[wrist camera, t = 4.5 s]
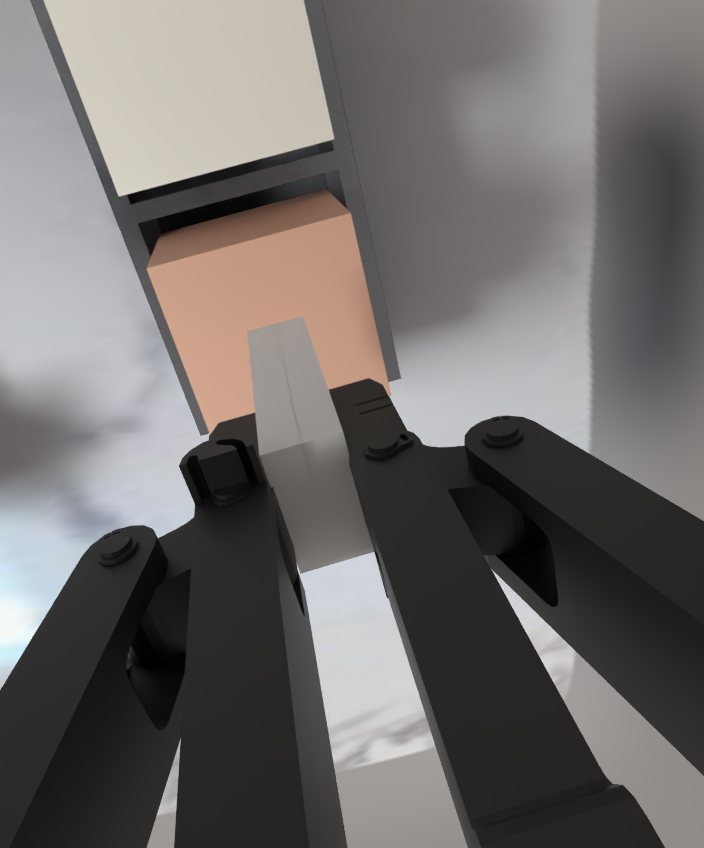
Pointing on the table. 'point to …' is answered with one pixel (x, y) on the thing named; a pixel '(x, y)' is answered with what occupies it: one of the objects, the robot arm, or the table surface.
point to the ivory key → (192, 83)
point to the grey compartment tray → (237, 190)
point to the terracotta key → (265, 296)
